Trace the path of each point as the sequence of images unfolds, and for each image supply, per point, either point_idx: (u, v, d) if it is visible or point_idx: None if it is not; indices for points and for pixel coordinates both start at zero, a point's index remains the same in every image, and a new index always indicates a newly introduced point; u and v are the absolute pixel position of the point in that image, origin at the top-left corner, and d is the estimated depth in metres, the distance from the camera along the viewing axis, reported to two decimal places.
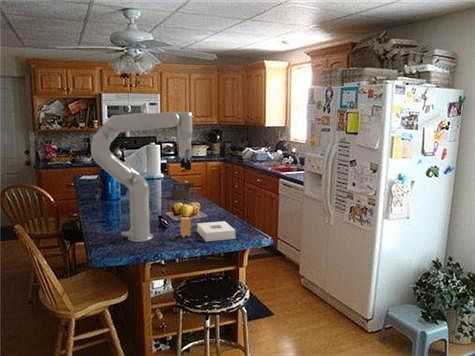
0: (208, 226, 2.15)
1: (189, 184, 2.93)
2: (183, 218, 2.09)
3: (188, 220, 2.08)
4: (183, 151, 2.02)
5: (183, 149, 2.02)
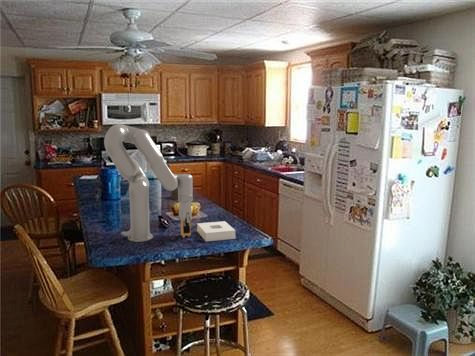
0: (208, 226, 2.15)
1: None
2: None
3: None
4: (183, 214, 2.04)
5: (183, 212, 2.04)
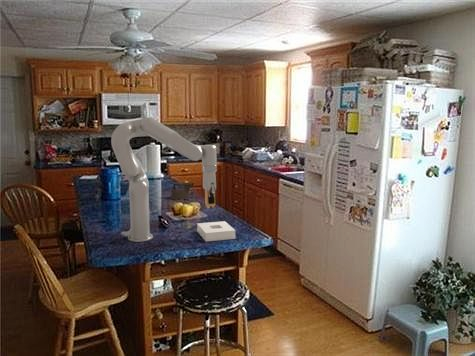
0: (208, 226, 2.15)
1: (189, 184, 2.93)
2: None
3: None
4: (208, 184, 2.04)
5: (208, 182, 2.04)
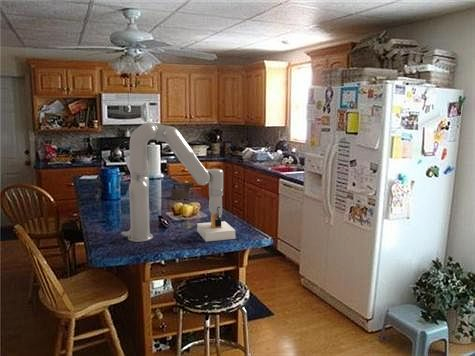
0: (208, 226, 2.15)
1: (189, 184, 2.93)
2: None
3: None
4: (214, 208, 2.07)
5: (214, 206, 2.07)
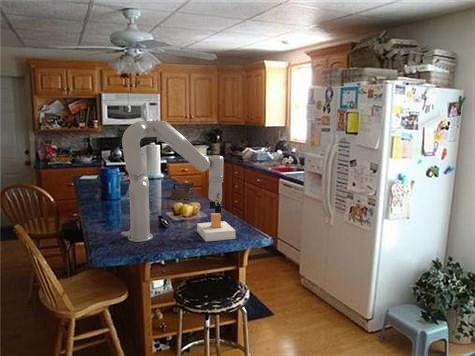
0: (208, 226, 2.15)
1: (189, 184, 2.93)
2: (213, 214, 2.13)
3: (218, 216, 2.12)
4: (214, 195, 2.06)
5: (214, 193, 2.06)
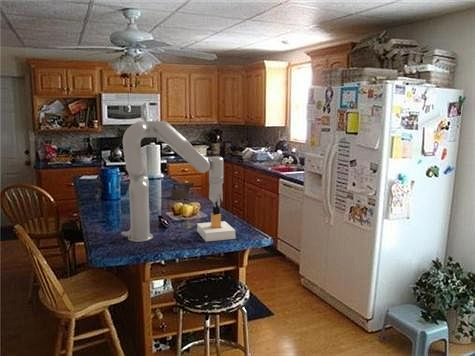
0: (208, 226, 2.15)
1: (189, 184, 2.93)
2: None
3: (219, 216, 2.12)
4: (215, 196, 2.06)
5: (215, 194, 2.06)
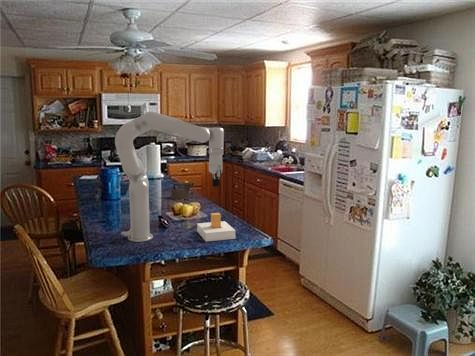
0: (208, 226, 2.15)
1: (189, 184, 2.93)
2: (213, 214, 2.13)
3: (218, 216, 2.12)
4: (214, 167, 2.03)
5: (214, 165, 2.03)
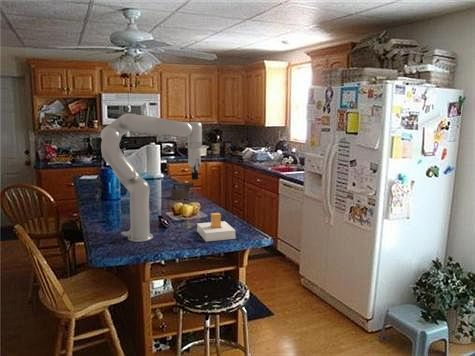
0: (208, 226, 2.15)
1: (189, 184, 2.93)
2: (213, 214, 2.13)
3: (218, 216, 2.12)
4: (193, 160, 2.09)
5: (193, 158, 2.09)
